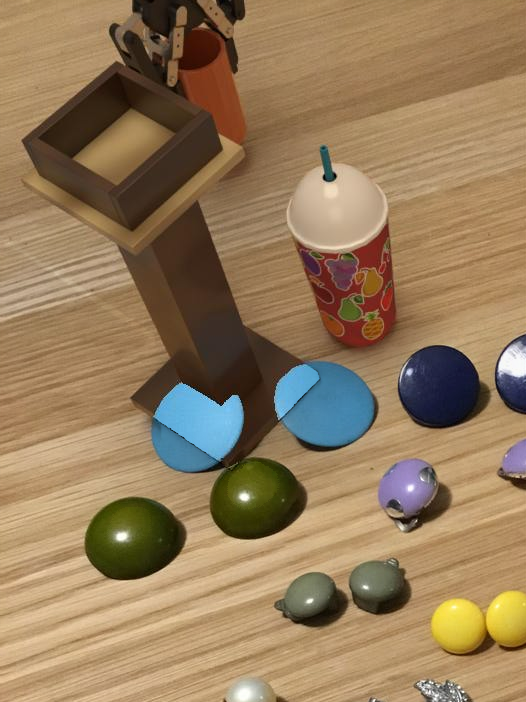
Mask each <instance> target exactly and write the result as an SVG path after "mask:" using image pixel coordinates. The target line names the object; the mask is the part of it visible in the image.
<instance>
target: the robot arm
mask: <svg viewBox="0 0 526 702" xmlns="http://www.w3.org/2000/svg"><path fill="white" fill-rule="evenodd" d="M131 11H132V14H131V15H130V16H129V17H128V18H127V19H126V20H125V21H124V23H123V24H122V25H121V24H119V23H117V22H112V23H111V24H110V25H109V28H108V35H109V37H110V39H111V40H112V43H113V44H114V46H115V48H116V51H117V52H118V54H119V56H120V58H121V59H122V61H123V64H124V66H127V67H129V68H130V69H132V70H134V71H136V72H138V73H139V74H141V75H143V76H145V77H147V78H148V79H150V80H152V81H154V82H156V83H158V84H159V85H161V86H163V87H165V88H167V89H168V90H170V91H172V92H174V93H176V94H177V95H179V96H181V97H183V98H185V99H186V96H185V93H184V90H183V87H182V84H181V81H180V80H178V60H179V59H181V58H182V57H183V41H184V38H186V37H187V36H188V34H189V33H190V32H191V30H192V29H194V28H196V27H201V25H204V26H205V28H209V29H211V30H213V31H215V32H217V33H219V34H220V36H221V37H222V38H223V40H224V41H225V45H226V48H227V52H228V56H229V59H230V63H231V67H232V70H233V74H234V75H236V74H237V73H238V72H239V68H238V64H239V55H238V51H237V48H236V42H235V40H234V33H235V25H236V22H237V21H239V22H240V21H243V20H244V19H245V17H246V5H245V0H215V1H214V0H131ZM161 36H162V37H164V39H166V38H167V39H169V43H167V42H165V41H164V40H163V39H162V37H161ZM147 51H148V52H147ZM162 56H163V57H164V60H165V62H164V66H162Z"/></svg>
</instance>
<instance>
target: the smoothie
mask: <svg viewBox="0 0 526 702" xmlns="http://www.w3.org/2000/svg"><path fill="white" fill-rule="evenodd" d="M318 151H319V155H320V159H321V164H320V165H318V166H315V167H313V168H312V169H310V170H309V171H308V172H307V173H306V174H304V175H303V177H302V178H301V179H300V180H299V182H298V183H297V184H296V186H295V188H294V191H293V194H292V196H291V198H290V199H289V201H288V203H287V207H286V211H285V219H286V226H287V229H288V230H289V231H290V235H291V238H292V240H293V243H294V245H295V248H296V251H297V253H298V257H299V260H300V262H301V265H302V268H303V271H304V273H305V276H306V279H307V282H308V284H309V287H310V290H311V293H312V297H313V299H314V302H315V304H316V307H317V309H318V313H319V315H320V318H321V321H322V323H323V324H322V325H323V326H324V327H325V329H326V331H327V332H328V334H330V335H331V336H333V337H334V338H335V339H336V340H338V341H339V342H341V343H342V344H344V345H346V346H349V347H354V348H355V347H358V348H362V347H363V348H364V347H368V346H372V345H374V344H376V343H379V342H380V341H381V340H383V338H385V337H386V336H387V335H388V333H389V331H390V329H391V327H392V325H393V324H394V322H395V321H396V315H397V304H396V303H397V302H396V291H395V288H396V287H395V278H394V265H393V255H392V243H391V241H392V240H391V231H390V230H391V229H390V227H391V226H390V218H389V211H390V210H389V202H388V197H387V196H386V194H385V193H384V190H383V189H382V187H381V186H380V185H378V184H377V183H376V182H374V181H373V179H371V178H370V177H369V176H368V174H366V173H364V172H363V171H362V170H360V169H359V168H357V167H356V166H353V165H349V164H347V163H343V162H331V157H330V152H329V147H328V145H325V144H321V145H320V146H319V150H318Z"/></svg>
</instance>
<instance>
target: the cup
mask: <svg viewBox="0 0 526 702" xmlns="http://www.w3.org/2000/svg"><path fill="white" fill-rule="evenodd" d="M163 41H165V42H167V43H169V39H167V38H164V40H163ZM164 62H165V60H164V57H163V56H162V66H164ZM178 80H180V81H181V84H182V87H183V90H184V93H185V96H186V100H188V101H190V102H192V103H194V104H196V105H197V106H199V107H201V108H203V110H206V111H208V112H210V113H211V114H212V116H213V119H214V122H215V125H216V128H217V131H218V134H220V135H222V136H224V137H226V138H227V139H229V140H231V141H233V142H235V143H236V144H238V145H240V144H241V143H243V141H244V140H245V138H246V136H247V134H248V133H247V132H248V125H247V120H246V116H245V115H246V114H245V112H244V111H245V110H244V107H243V104H242V100H241V96H240V93H239V90H238V86H237V81H236V78H235V74H233V70H232V67H231V63H230V59H229V56H228V52H227V48H226V45H225V41H224V40H223V38H222V37H221V36H220V34H219V33H217V32H215V31H213V30H211V29H209V28H207V27H201V26H199V27H196V28H194V29H192V30H191V32H190V33H189V34H188V36H187V37H186V38H184V41H183V57H182V58H181V59H179V60H178Z"/></svg>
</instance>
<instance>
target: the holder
mask: <svg viewBox="0 0 526 702" xmlns="http://www.w3.org/2000/svg"><path fill="white" fill-rule="evenodd" d="M20 141H21V143H22V145H23V147H24V149H25V151H26V153H27V155H28V156H29V158H30V161H31V163H32V164H33V167H32V168H30V169H29V170H28V171H26V173H24V174H23V175H22V176H21V177H20V178H19V180H20V182H21V183H22V185H23V187H24V188H26V189H27V190H29V191H30V192H32V193H34V194H35V195H37V196H38V197H40V198H42V199H43V200H45V201H46V202H48V203H50V204H51V205H53V206H54V207H56V208H58V209H59V210H61V211H63V212H64V213H65V214H67V215H69V216H70V217H73V218H74V219H75V220H78V221H79V222H80V223H82V224H84V225H85V226H87V227H89V228H90V229H92V230H93V231H95V232H97V233H98V234H100V235H101V236H103V237H105V238H106V239H108V240H110V241H112V242H113V243H114V244H116V246H117V249H118V251H119V253H120V256H121V257H122V259H123V262H124V264H125V265H126V267H127V270H128V272H129V274H130V276H131V278H132V281H133V282H134V285H135V287H136V289H137V291H138V293H139V295H140V297H141V299H142V301H143V304H144V306H145V308H146V310H147V312H148V315H149V316H150V319H151V320H152V322H153V325H154V326H155V329H156V331H157V334H158V336H159V337H160V338H159V339H161V342H162V344H163V346H164V348H165V350H166V352H167V354H168V356H169V359H168V360H167V361H166V362H165V363H164V364H163V365H162V366H161V367H160V368H159V369H157V371H156V372H155V373H154V374H152V376H150V377H149V379H148V380H147V381H145V382H144V384H142V385H141V387H139V388H138V389H137V390H136V391H135V392H134V393H133V394H132V395H131V396H130V397H129V398H130V400H131V403H132V404H133V406H134V407H135V408H137V409H139V410H140V411H142V412H143V413H145V414H146V415H148V416H149V417H150V418H152V419H154V418H153V416H154V415H155V412H156V410H157V408H158V407H159V405H160V403H161V401H162V400H163V398H164V397H165V396H166V395H167V394H168V393H169V392H170V391H171V390H172V389H173V388H174V387H175V386H176V385H178V384H179V383H181V382H182V383H183V384H186V385H188V386H190V387H191V388H193V389H195V390H196V391H198V392H200V393H202V394H203V395H205V396H207V397H208V398H210V399H211V400H213V401H215V402H216V403H217V404H219V405H220V406H222V405H223V404H224V402H226V400H228V399H229V398H230V397H231V396H232V395H238V396H239V398H240V400H241V403H242V406H243V411H244V424H243V428H242V433H241V435H240V438H239V440H238V442H237V444H236V445H235V446H234V448H233V450H232V451H231V452H230V453H229V454H228V455H226V456H225V457H224V458H221V460H222V464H223V465H222V464H221V465H222V466H223V467H224V468H226V469H228V467H230V466H232V465H234V464H236V463H237V462H239V461H241V460H242V461H243V460H244V459H245V458H246V457H247V456H248V454H250V452H252V450H253V449H254V448H255V447H256V446H257V445H258V444H259V443H260V442H261V441H262V440H263V439H264V438H265V437H266V436H267V435H268V434H269V433H270V432H271V431H272V430H273V429H274V428H275V426H276V425H278V424H279V423H280V421H279V420H278V417H277V413H276V411H275V403H274V396H275V390H276V386H277V383H278V382H279V380H280V379H281V378H282V377H283V376H285V374H287V373H288V372H289V371H290V370H291V369H292V368H294V367H296V366H299V365H303V364H307V363H306V362H305V361H303V360H301V359H300V358H298V357H296V356H295V355H293V354H291V352H288V351H287V350H285V349H284V348H282V347H280V346H279V345H277V344H276V343H274V342H272V341H270V340H269V339H267V338H265V337H264V336H262V334H260V333H258V332H256V331H254V330H253V329H251V328H249V327H248V326H246V325H245V324H244V323H243V320H242V317H241V315H240V312H239V309H238V306H237V303H236V300H235V297H234V296H233V293H232V289H231V287H230V284H229V281H228V279H227V275H226V273H225V271H224V270H225V269H224V268H223V264H222V262H221V260H220V256H219V254H218V251H217V248H216V245H215V242H214V240H213V237H212V234H211V231H210V229H209V226H208V224H207V221H206V218H205V215H204V212H203V210H202V206H201V204H200V202H199V199H200V198H202V196H204V195H205V194H206V193H207V192H208V191H209V190H210V189H211V188H212V187H214V185H215V184H217V183H218V182H220V181H221V179H222V178H223V177H224V176H226V175H227V174H228V173H229V172H230V171H231V170H232V169H233V168H234V167H235V166H236V165H238V164H239V163H240V162H241V161H242V160H243V159H244V158H245V157H246V153H245V150H244V147H243V146H241V145H240V144H239V145H238V144H236V143H235V142H233V141H231V140H229V139H227V138H226V137H224V136H222V135H220V134H218V131H217V128H216V125H215V122H214V119H213V116H212V114H211V113H210V112H208V111H206V110H203V108H201V107H199V106H197V105H196V104H194V103H192V102H190V101H188V100H186V99H185V98H183V97H181V96H179V95H177V94H176V93H174V92H172V91H170V90H168V89H167V88H165V87H163V86H161V85H159V84H158V83H156V82H154V81H152V80H150V79H148V78H147V77H145V76H143V75H141V74H139V73H138V72H136V71H134V70H132V69H130V68H129V67H127V66H126V65H125V64H124V63H122V62H120V61H118V60H115V61H114V62H113V63H112V64H110V66H108V67H107V68H106V69H104V70H103V71H102V72H101V73H100V74H99V75H97V76H96V77H95V78H94V79H92V81H90V82H89V83H87V84H86V85H85V86H84V87H83V88H82V89H80V90H79V91H78V92H77V93H76V94H74V95H73V96H72V97H71V98H69V99H68V100H67V101H66V102H65V103H64V104H63V105H61V106H60V107H58V109H56V110H55V111H54V112H53V113H52V114H50V115H49V116H48V117H47V118H46V119H45V120H43V121H42V122H41V123H40V124H39V125H37V126H36V127H35V128H33V130H31V131H30V132H29V133H28V134H27V135H25V136H24V137H23V138H22V139H21V140H20ZM264 436H265V437H264ZM262 438H263V439H262ZM260 440H261V441H260ZM242 461H241V462H242Z"/></svg>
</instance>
